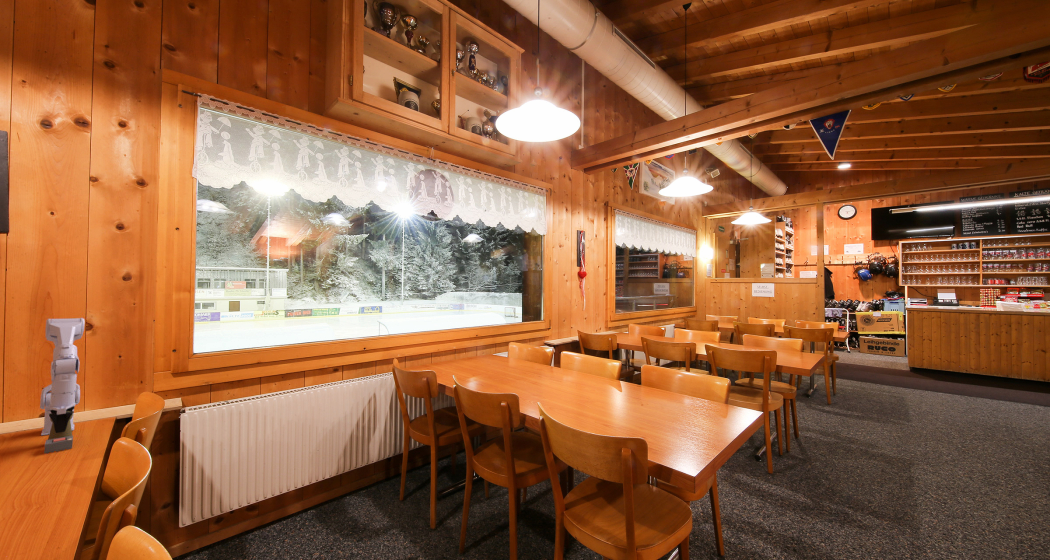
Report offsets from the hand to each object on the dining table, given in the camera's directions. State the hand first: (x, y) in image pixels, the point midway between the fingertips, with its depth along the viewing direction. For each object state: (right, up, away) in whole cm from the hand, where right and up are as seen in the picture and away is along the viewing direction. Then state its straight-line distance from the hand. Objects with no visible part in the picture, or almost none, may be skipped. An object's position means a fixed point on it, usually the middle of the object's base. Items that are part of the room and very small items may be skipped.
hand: (60, 430), depth 136 cm
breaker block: (+6, -4, -5) cm, 9 cm away
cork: (0, -5, 0) cm, 5 cm away
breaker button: (+6, -3, -5) cm, 9 cm away
